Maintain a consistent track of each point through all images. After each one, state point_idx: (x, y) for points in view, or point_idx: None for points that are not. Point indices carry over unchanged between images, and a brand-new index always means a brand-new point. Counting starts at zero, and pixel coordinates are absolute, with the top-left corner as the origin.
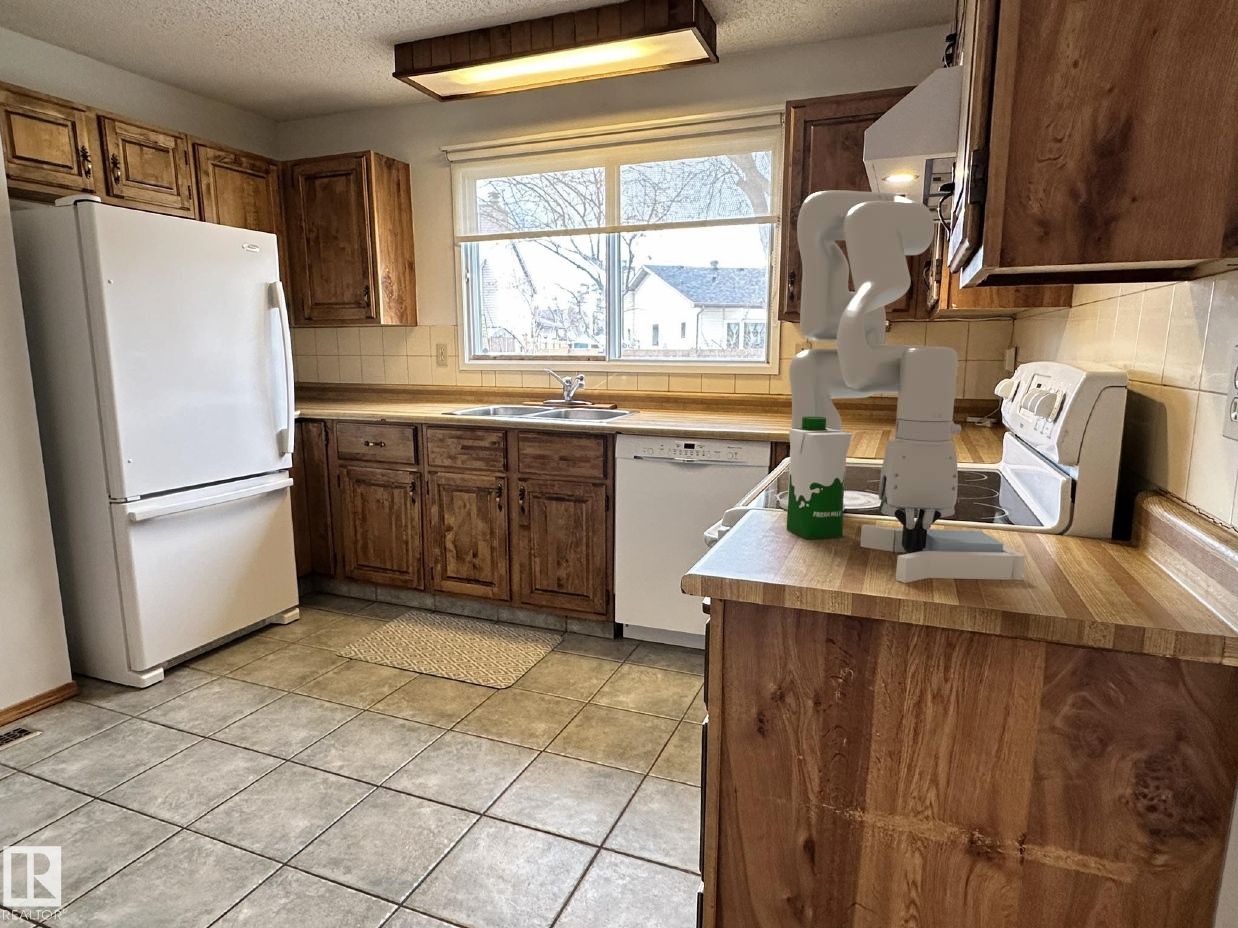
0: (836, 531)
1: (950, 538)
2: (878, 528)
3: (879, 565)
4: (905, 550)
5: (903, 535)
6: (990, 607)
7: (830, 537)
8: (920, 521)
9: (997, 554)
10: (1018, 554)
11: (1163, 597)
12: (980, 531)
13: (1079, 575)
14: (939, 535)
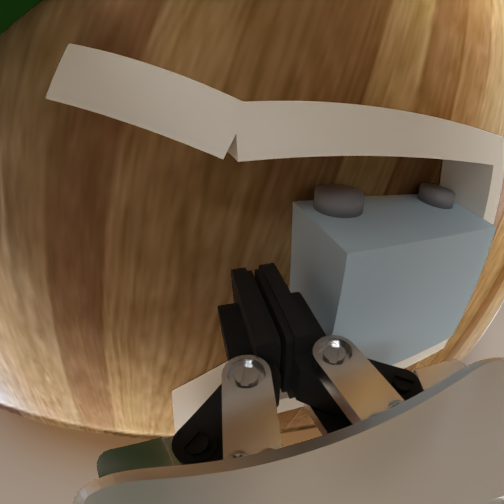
0: (19, 7)
1: (377, 345)
2: (132, 123)
3: (137, 315)
4: (232, 280)
5: (225, 343)
6: (291, 426)
7: (13, 22)
8: (314, 396)
9: (411, 360)
10: (443, 343)
11: (485, 316)
12: (493, 232)
13: (489, 264)
14: (367, 323)
